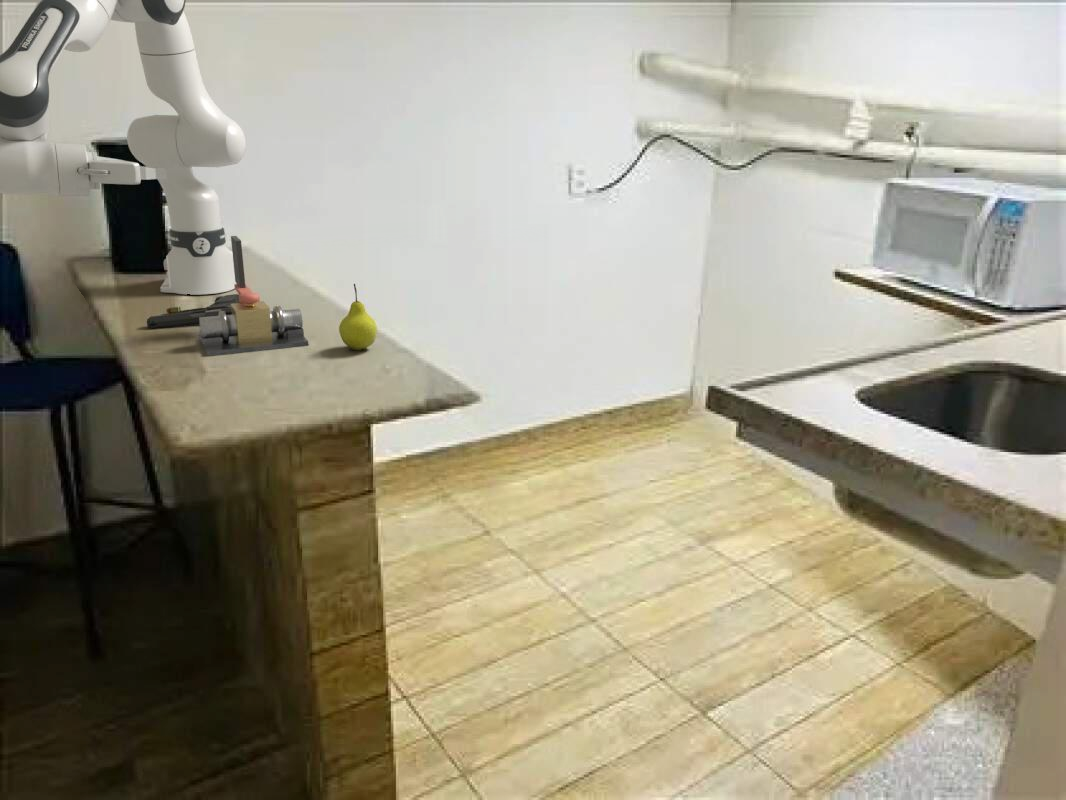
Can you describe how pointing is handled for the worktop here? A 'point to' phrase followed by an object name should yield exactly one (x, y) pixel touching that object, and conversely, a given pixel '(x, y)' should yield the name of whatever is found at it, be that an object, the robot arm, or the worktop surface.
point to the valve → (251, 329)
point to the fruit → (358, 327)
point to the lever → (241, 274)
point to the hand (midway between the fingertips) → (162, 173)
